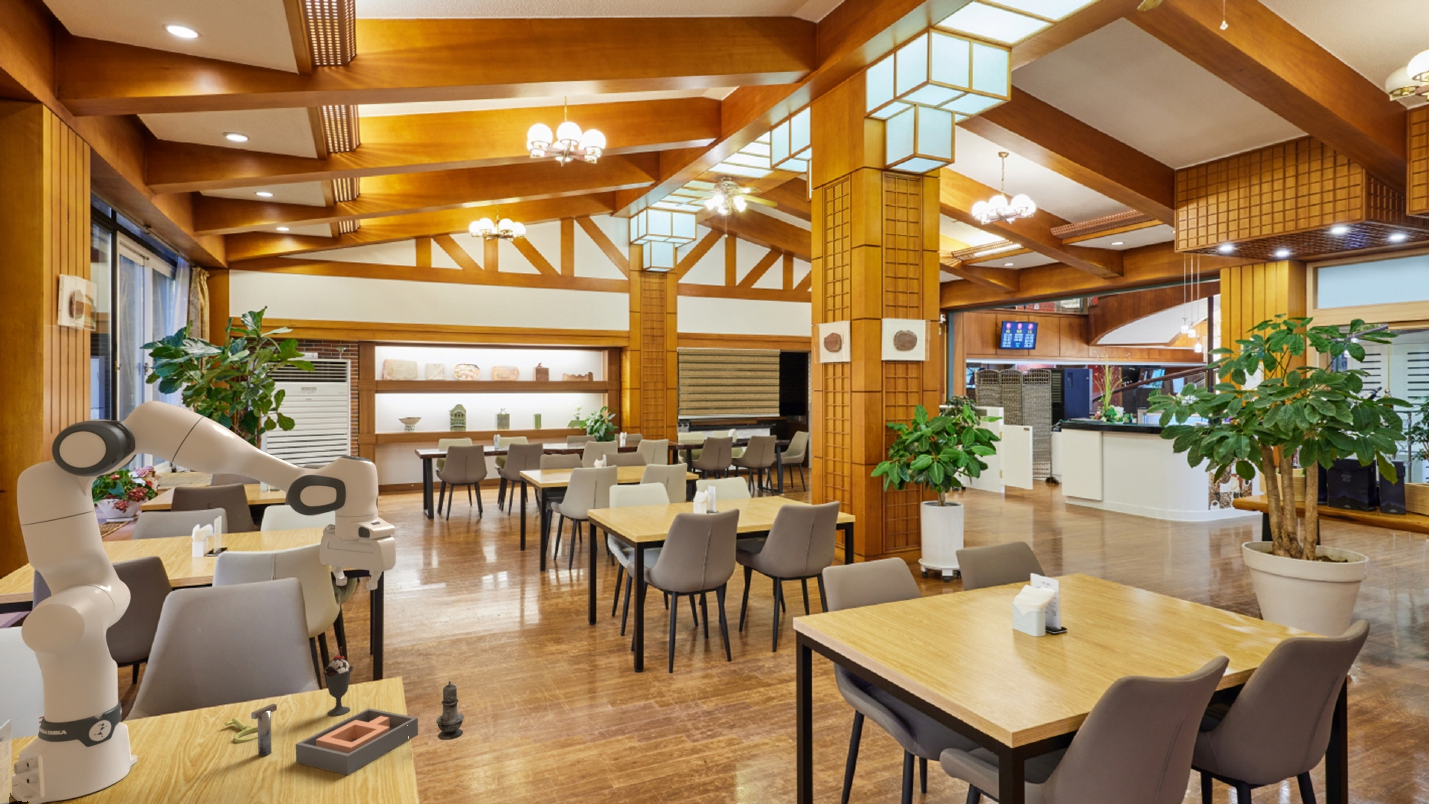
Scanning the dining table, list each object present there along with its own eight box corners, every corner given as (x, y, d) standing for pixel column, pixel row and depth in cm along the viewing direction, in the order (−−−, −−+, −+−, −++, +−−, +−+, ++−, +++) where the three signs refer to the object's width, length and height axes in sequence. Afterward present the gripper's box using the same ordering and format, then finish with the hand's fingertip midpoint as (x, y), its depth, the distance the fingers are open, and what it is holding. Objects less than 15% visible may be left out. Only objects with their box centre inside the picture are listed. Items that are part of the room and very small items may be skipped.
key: (234, 725, 170) (234, 716, 170) (275, 732, 166) (275, 723, 166) (205, 739, 163) (205, 729, 163) (247, 746, 159) (246, 737, 159)
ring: (351, 762, 149) (351, 747, 149) (316, 753, 153) (315, 739, 153) (402, 733, 162) (402, 720, 162) (368, 726, 166) (368, 713, 166)
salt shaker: (455, 741, 160) (454, 686, 159) (430, 739, 161) (430, 685, 161) (469, 729, 165) (468, 676, 165) (445, 727, 166) (445, 675, 166)
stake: (250, 757, 153) (249, 712, 153) (271, 747, 158) (270, 703, 158) (257, 759, 152) (257, 714, 152) (279, 749, 157) (278, 704, 157)
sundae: (350, 703, 180) (349, 643, 180) (357, 712, 175) (356, 650, 175) (320, 711, 176) (319, 649, 176) (326, 720, 171) (325, 656, 171)
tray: (296, 762, 151) (295, 744, 151) (369, 724, 168) (368, 708, 168) (348, 775, 146) (347, 756, 146) (418, 734, 163) (417, 717, 163)
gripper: (312, 525, 168) (311, 585, 168) (378, 532, 160) (378, 595, 160) (335, 521, 174) (335, 579, 174) (400, 527, 166) (400, 588, 166)
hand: (356, 587), depth 167 cm, fingers open, 8 cm apart
